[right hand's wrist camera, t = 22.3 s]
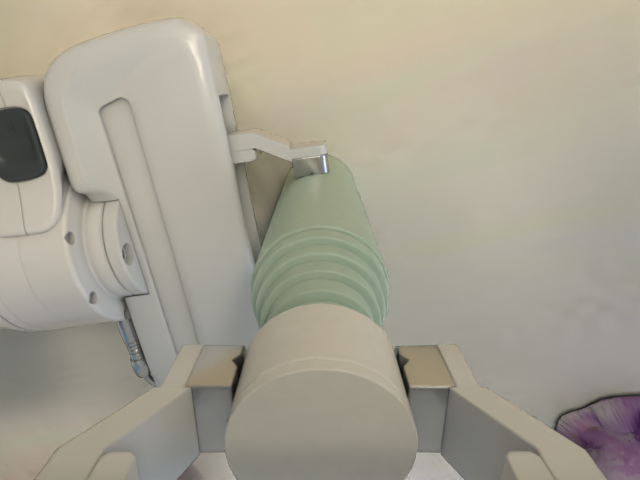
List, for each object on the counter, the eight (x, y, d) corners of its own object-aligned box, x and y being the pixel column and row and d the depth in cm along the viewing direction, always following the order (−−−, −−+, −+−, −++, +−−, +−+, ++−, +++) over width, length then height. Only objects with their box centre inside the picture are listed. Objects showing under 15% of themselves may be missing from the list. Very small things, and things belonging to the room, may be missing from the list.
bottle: (319, 138, 27) (318, 276, 7) (369, 188, 28) (481, 420, 9) (269, 190, 28) (160, 423, 9) (320, 236, 29) (322, 532, 10)
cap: (420, 392, 11) (448, 477, 8) (293, 447, 11) (286, 539, 9) (352, 275, 9) (363, 336, 7) (215, 343, 10) (185, 420, 8)
